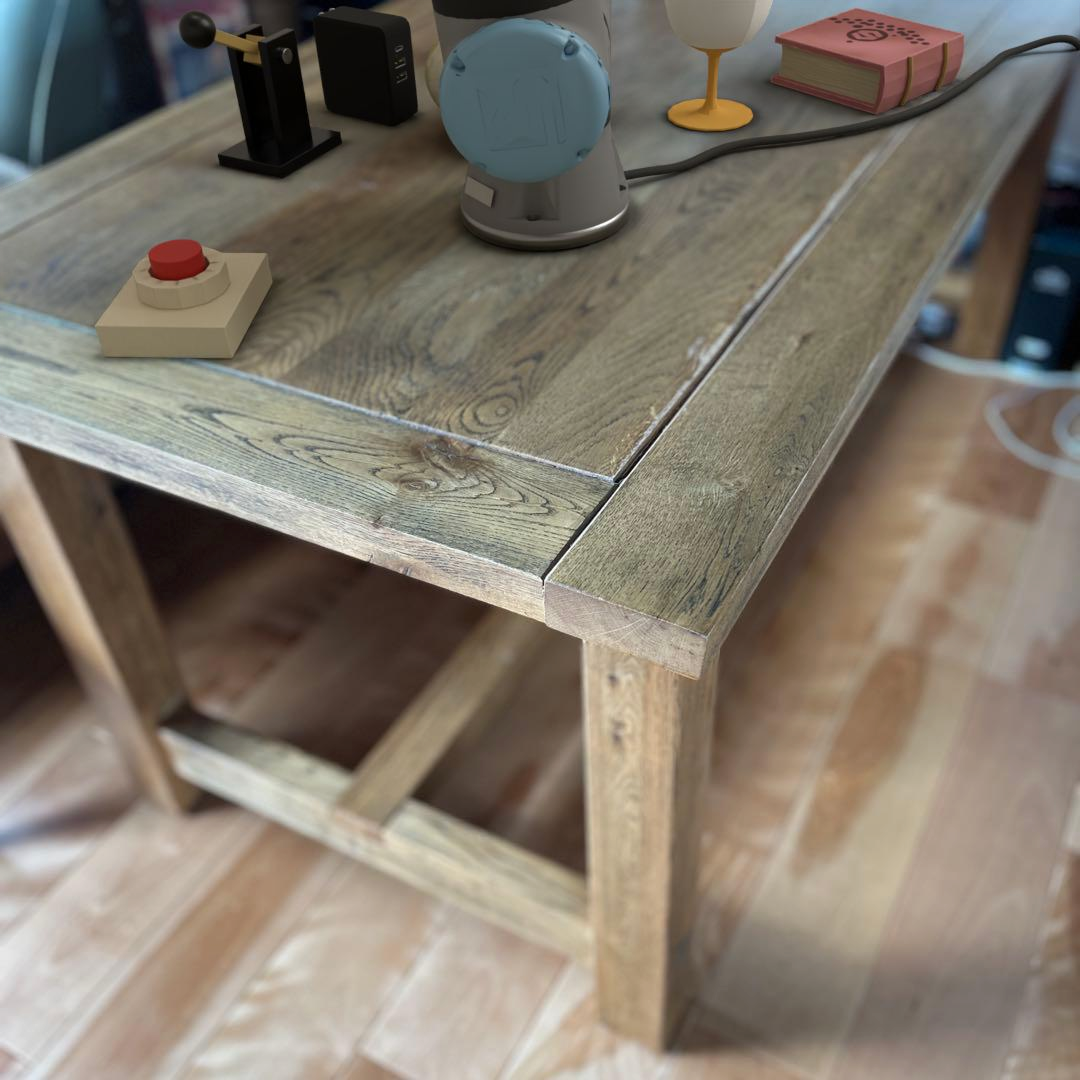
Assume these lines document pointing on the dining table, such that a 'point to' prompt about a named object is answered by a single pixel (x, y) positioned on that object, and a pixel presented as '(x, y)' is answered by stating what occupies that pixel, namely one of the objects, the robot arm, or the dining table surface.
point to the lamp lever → (216, 36)
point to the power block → (186, 309)
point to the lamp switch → (273, 110)
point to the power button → (177, 260)
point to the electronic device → (366, 64)
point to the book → (868, 59)
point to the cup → (714, 54)
